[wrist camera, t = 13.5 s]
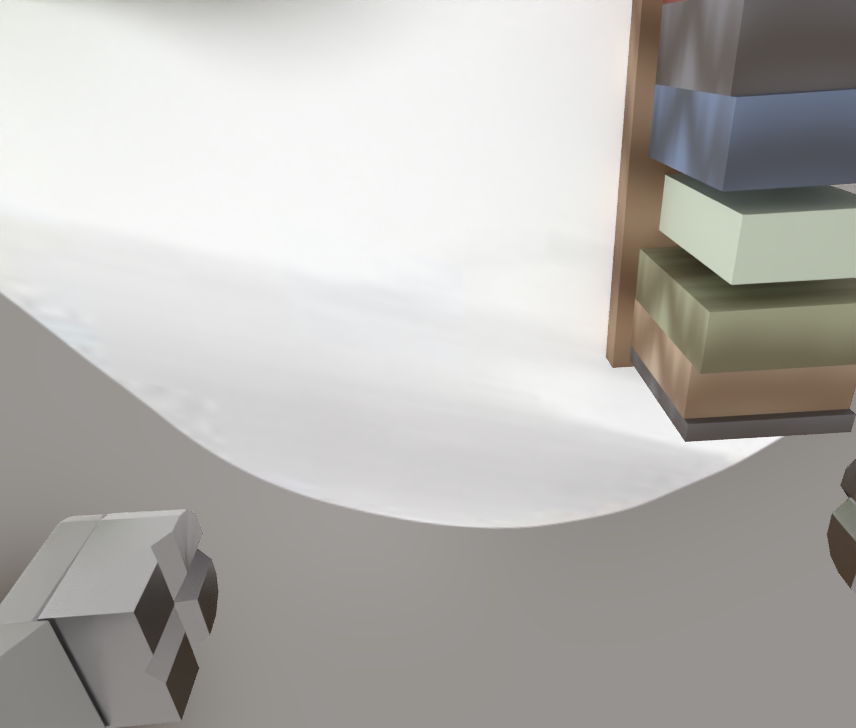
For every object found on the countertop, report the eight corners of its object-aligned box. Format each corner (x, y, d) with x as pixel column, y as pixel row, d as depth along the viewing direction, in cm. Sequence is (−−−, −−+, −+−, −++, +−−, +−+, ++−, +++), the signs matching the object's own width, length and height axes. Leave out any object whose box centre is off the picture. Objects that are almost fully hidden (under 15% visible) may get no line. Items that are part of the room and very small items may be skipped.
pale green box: (665, 174, 34) (743, 215, 26) (777, 167, 34) (891, 206, 26) (659, 230, 35) (731, 285, 27) (767, 223, 35) (872, 276, 27)
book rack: (640, -103, 29) (752, -178, 20) (856, -119, 29) (1077, -202, 19) (606, 356, 40) (667, 457, 30) (763, 347, 40) (875, 445, 30)
